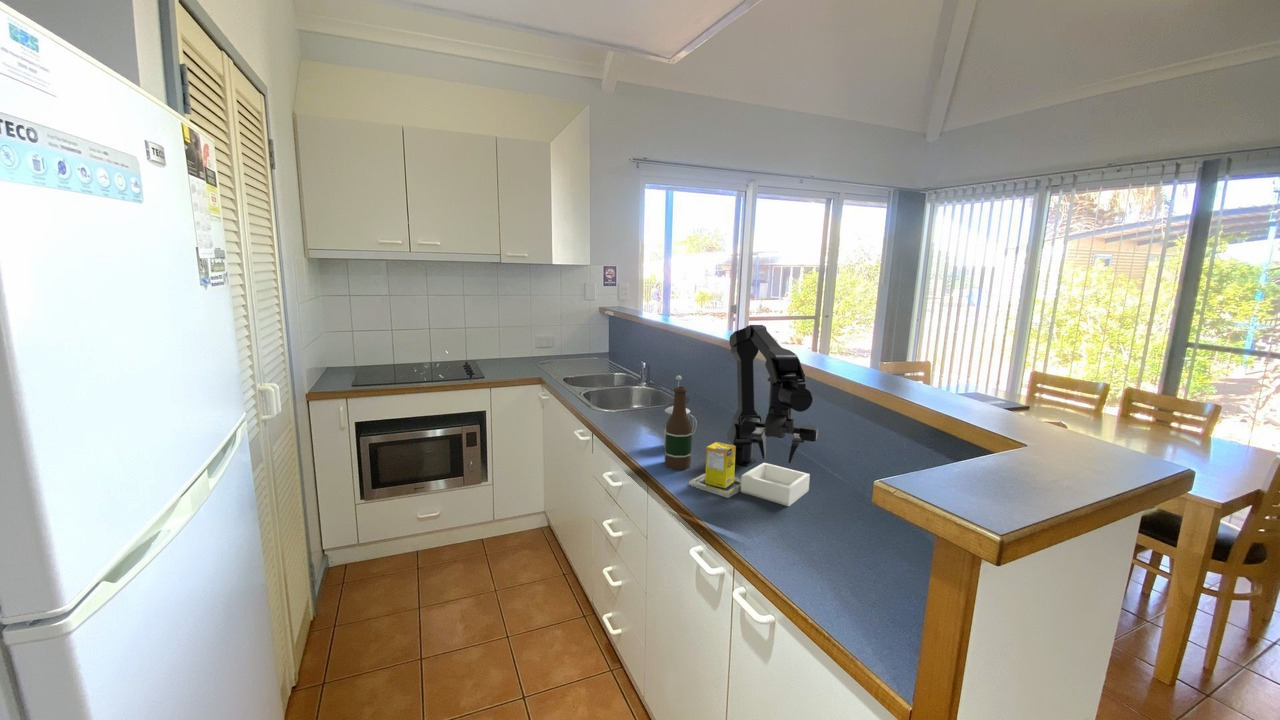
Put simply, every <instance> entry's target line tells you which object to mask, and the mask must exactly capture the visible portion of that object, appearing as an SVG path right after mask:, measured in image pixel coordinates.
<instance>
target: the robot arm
mask: <svg viewBox="0 0 1280 720" xmlns="http://www.w3.org/2000/svg"><path fill="white" fill-rule="evenodd" d="M728 339H729V345H730V352H731V354H732V355H733V358H734V359H735V360H736V377H737V379H736V380H737V381H736V383H737V410H736V411H735V414H734V415H733V417H732V424H731V426H730V428H729V429H728V431H727V433H726V438H727V441H728V442H730V443H731V445H733V446H736V451H735V464H738V465H741V466H746V467H748V466H750V465H751V464H753V463H755V462H757V459H756V458H753V448H754V447H753V444H758V446H759V450H760V453H761V457H762V460H766V454H767V445H766V444H767V441H766V440H767V437H768V438H770V437H772V438H777V439H783V438H785V436H786V434H790V435H793V437H792V439H791V440H792V441H791V446H790V451H789V456H788V464H791V463H792V461H793V459H794V455H795V453H796V451H797V449H798V447H799V445H800V444H804V443H805V442H816V441H817V439H818V434H819V428H818V426H817V425H814V424H808V423H807V424H803V423H802V424H801V426H800V427H798V426H795V419H794V418H792V413H793V411H796V412H799V413H801V412H804V411H805V412H806V411H807V410H808V409H809V408H810V407H811V406H812V403H813V395H812V393H811V391H810V390H809V389H807V388H806V387H807V386H806V385H807V384H806V378H805V377H806V375H805V373H804V369H803V367H802V365H801V360H800V359H799V357H798V355H797V354H796V353H794V351H792V350H790V349H786V348H784V347H783V346H781V345H780V344H779V343H778V342H777V341H776V339H774V337H773V335H772V334H770V333H769V332H768V329H767V326H765V325H763V324H749V325H746V327H743V328H741V329H737V330H735V331H734V332H733V333H732V334H730V336H729V338H728ZM759 352H760V354H761V355H762V356H763V357H764V358H765V364H764V366H765V368H766V370H767V373H768V375H769V377H768V378H767V382H768V383H770V384H769V396H768V397H769V398H768V399H769V400H768V410H767V411H768V412H767V414H766V417H765V420H764V422H762V417H761V415H759V414H758V413H757V411H756V408H755V382H754V381H755V379H754V377H755V376H754V360H755V358H756V357H757V355H758V353H759Z"/></svg>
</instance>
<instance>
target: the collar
mask: <svg viewBox="0 0 1280 720" xmlns="http://www.w3.org/2000/svg"><path fill="white" fill-rule="evenodd" d="M705 473H706V472H705ZM705 473H702V474H700V475H699V476H697V477H695V478H692V479H690V480H689V481H688V486H690V485H691V486H690V487H693V486H694V487H693V488H695V487H696V489H698V488H699V489H698V490H703V491H704V492H705V491H706V492H708V493H712V494H715V495H716V496H717V495H718V496H720V497H724V498H728V499H730V498H732V496H734V495H736V494H738V493H739V492H741V478H742V476H741V477H740V476H738V475H734V483H738V484H737V485H736V486H734V487H732V488H730V489H729V490H721V489H718V488H715V487H712V486H708V485H705V483H701V482H702V481H704V480H705ZM700 481H701V482H700Z"/></svg>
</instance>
